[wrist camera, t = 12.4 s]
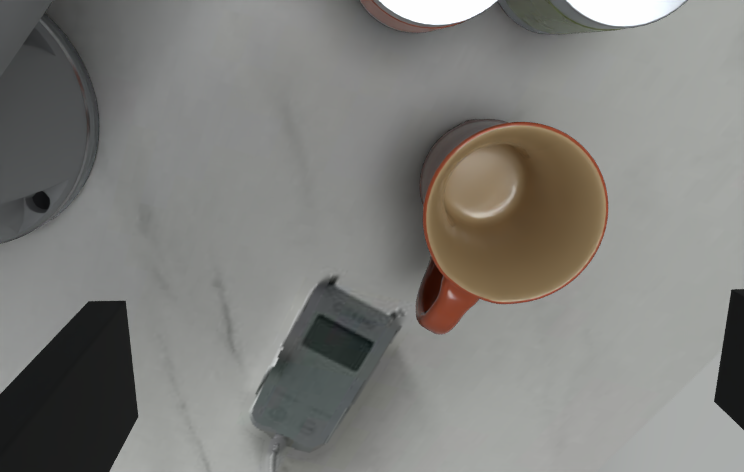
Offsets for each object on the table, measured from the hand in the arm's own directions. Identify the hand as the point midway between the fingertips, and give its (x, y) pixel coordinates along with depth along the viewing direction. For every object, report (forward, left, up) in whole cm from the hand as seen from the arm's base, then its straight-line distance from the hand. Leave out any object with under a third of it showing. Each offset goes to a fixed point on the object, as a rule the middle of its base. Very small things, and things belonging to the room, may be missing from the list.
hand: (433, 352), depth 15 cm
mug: (+5, -2, -28) cm, 28 cm away
